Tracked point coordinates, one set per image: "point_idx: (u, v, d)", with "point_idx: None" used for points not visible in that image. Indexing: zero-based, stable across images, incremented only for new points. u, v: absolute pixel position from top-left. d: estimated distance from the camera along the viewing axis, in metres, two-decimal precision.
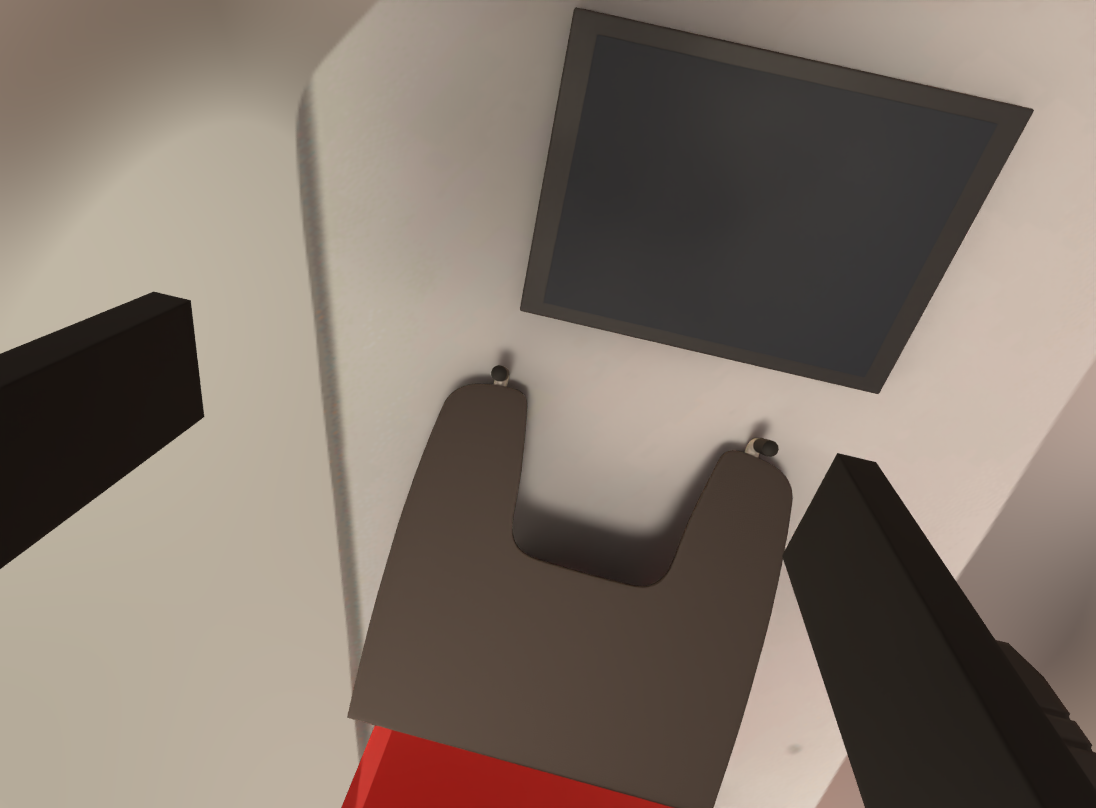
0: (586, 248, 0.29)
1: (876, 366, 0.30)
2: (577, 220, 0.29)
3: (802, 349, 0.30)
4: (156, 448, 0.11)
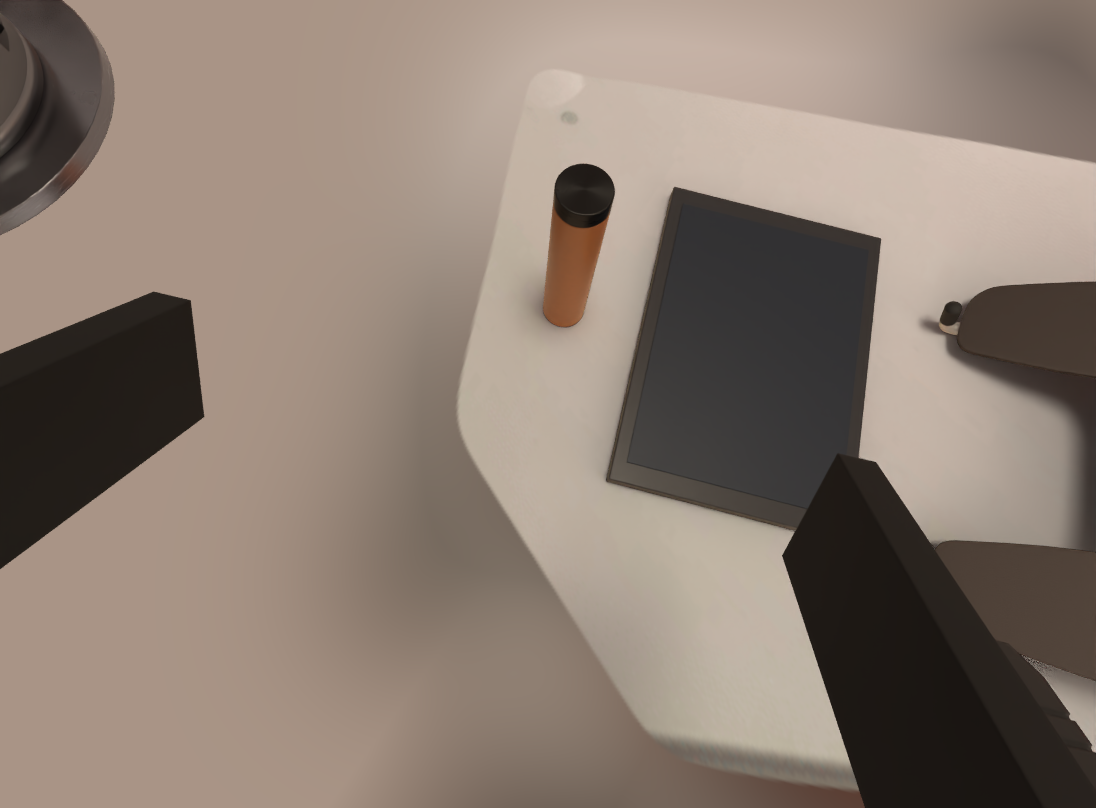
0: (785, 474, 0.33)
1: (857, 243, 0.37)
2: (762, 481, 0.33)
3: (852, 297, 0.36)
4: (156, 447, 0.11)
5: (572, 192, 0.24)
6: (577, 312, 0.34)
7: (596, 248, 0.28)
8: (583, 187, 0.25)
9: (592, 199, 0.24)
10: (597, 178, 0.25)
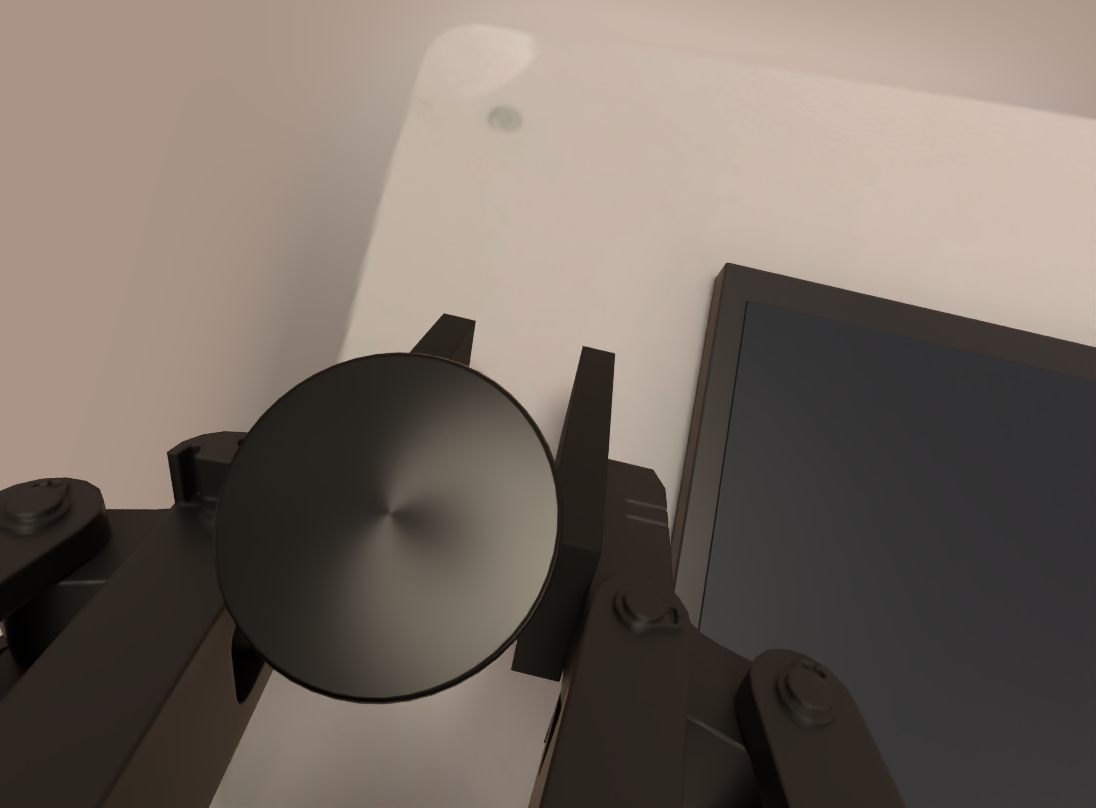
0: None
1: None
2: None
3: None
4: None
5: (316, 545, 0.04)
6: None
7: None
8: (382, 503, 0.04)
9: (430, 583, 0.04)
10: (467, 444, 0.04)
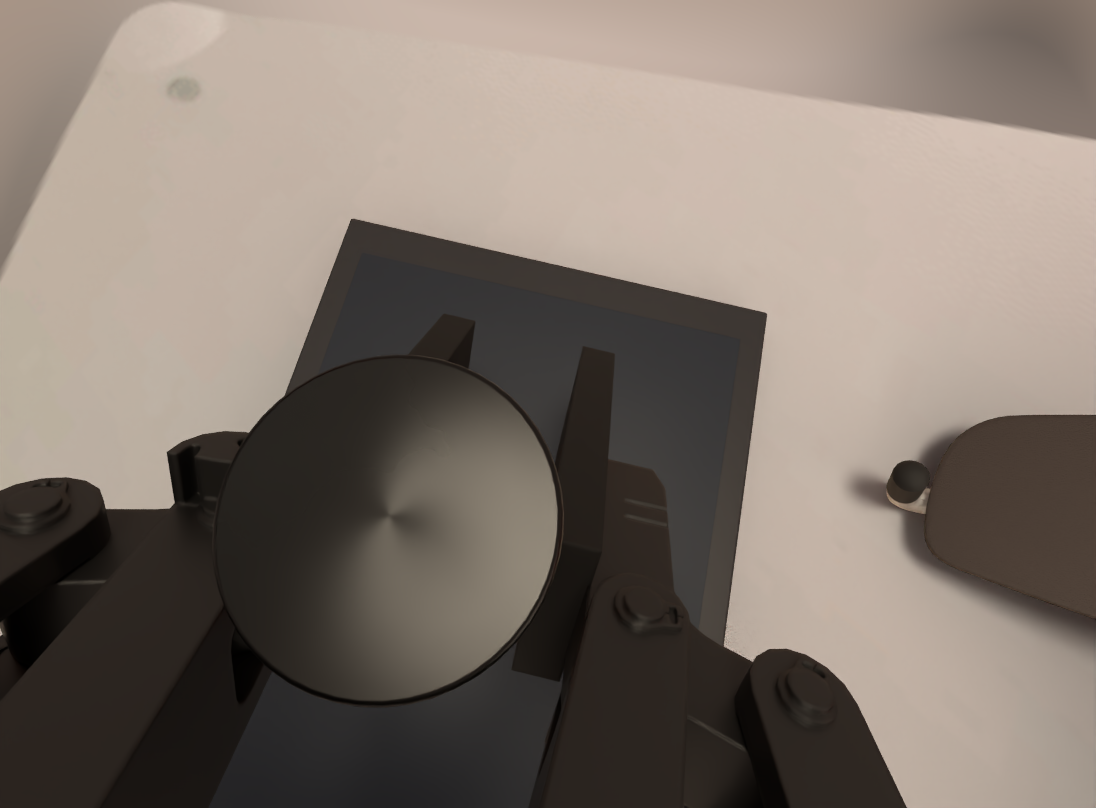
0: None
1: (718, 325, 0.18)
2: None
3: (700, 444, 0.17)
4: None
5: (315, 548, 0.04)
6: None
7: None
8: (382, 506, 0.04)
9: (430, 586, 0.04)
10: (467, 446, 0.04)
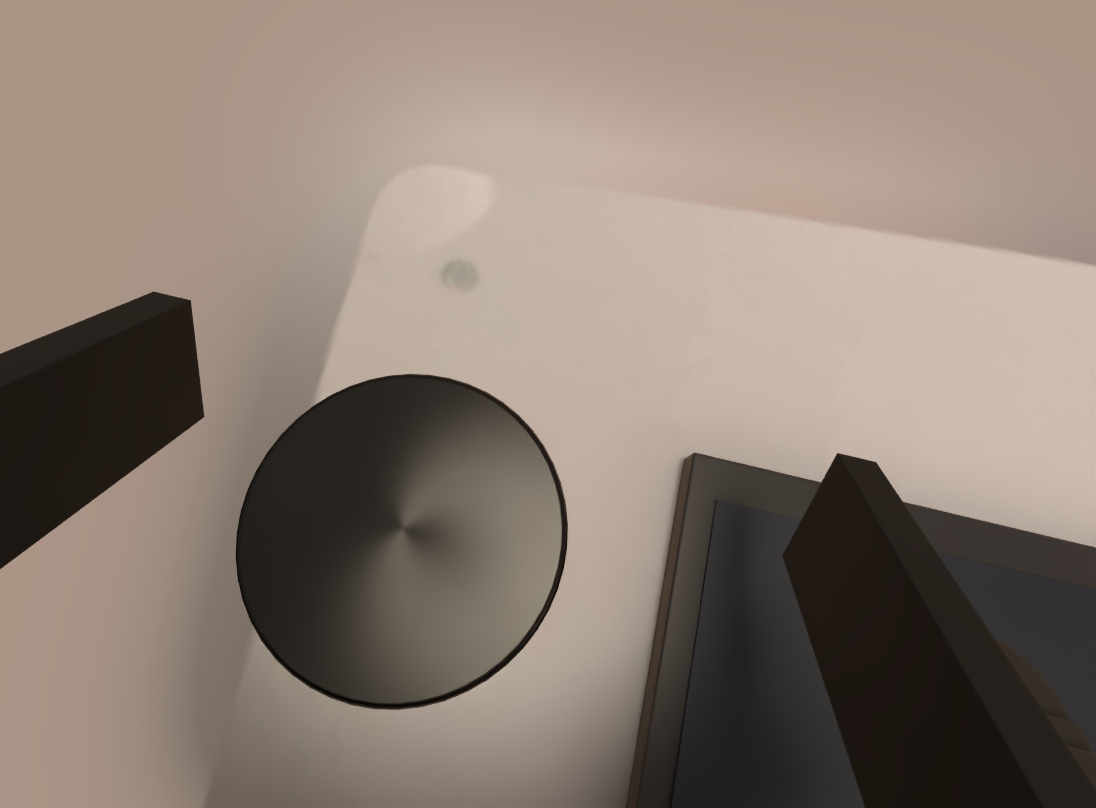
0: None
1: None
2: None
3: None
4: (156, 447, 0.11)
5: (332, 558, 0.04)
6: None
7: None
8: (395, 519, 0.05)
9: (441, 595, 0.04)
10: (476, 461, 0.05)
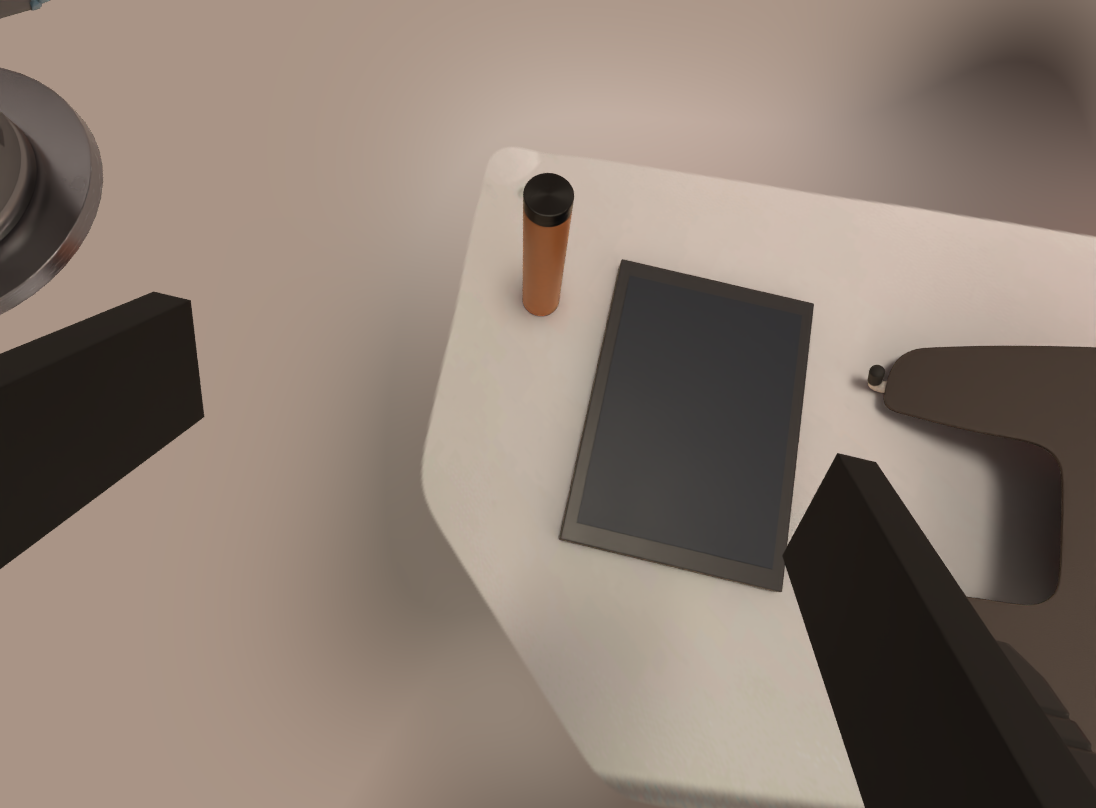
0: (723, 530, 0.36)
1: (792, 309, 0.40)
2: (702, 538, 0.36)
3: (786, 360, 0.39)
4: (156, 447, 0.11)
5: (538, 197, 0.29)
6: (552, 302, 0.39)
7: (562, 244, 0.32)
8: (547, 193, 0.29)
9: (555, 202, 0.29)
10: (559, 185, 0.29)
